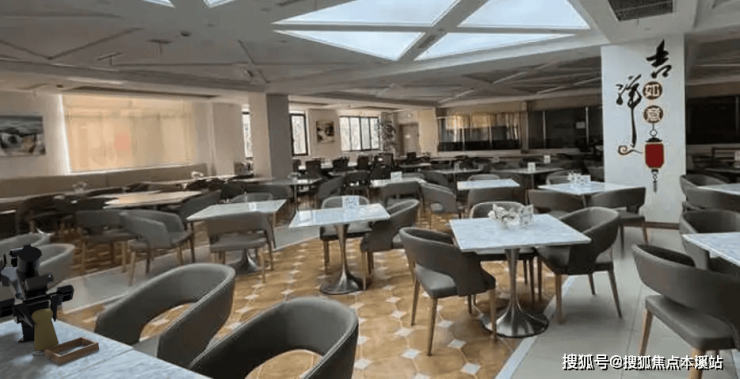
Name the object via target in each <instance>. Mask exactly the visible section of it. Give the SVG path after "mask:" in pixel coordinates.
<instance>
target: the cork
mask: <svg viewBox="0 0 740 379" xmlns="http://www.w3.org/2000/svg"><path fill="white" fill-rule="evenodd" d="M32 320H33V322H34V323H35V338H34V340H33V341H34V343H33V345H34V346H33V349H34V350H38V351H40V350H45V349H47V348H50V347H53V346H56V345H58V344H60V342H59V338H58V335H57V333H56V329H55V326H54V321H53V312H52V310H51V308H49V309H40V310H37V311H35V312H34V313H33V314H32Z"/></svg>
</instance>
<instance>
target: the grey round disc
mask: <svg viewBox="0 0 740 379" xmlns="http://www.w3.org/2000/svg"><path fill="white" fill-rule="evenodd" d="M59 344H60V343H59ZM59 344H58V345H59ZM32 355H33V356H37V357H38V356H39V357H40V356H45V353H44V350H40V351H38V350H35V349H34V350H33V351H32Z"/></svg>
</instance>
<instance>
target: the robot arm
mask: <svg viewBox="0 0 740 379" xmlns="http://www.w3.org/2000/svg"><path fill="white" fill-rule="evenodd" d="M42 257H43V253H42V250H41V249H40V248H38V247H36V246H33V245H32V244H31V243H26V244H22V247H17V248H10V249H8V251H6V252H3V253H1V259H0V285H1V287H5V288H9V289H10V292H12V295H13V296H11V297H7V298H3V299H0V319H3V318H6V317H11V316H12V317H13V321H14V323H16V324H17V325H19V324H20V326H21V334H22V337H21V338H20V339H18V341H17V342H18V343H23V342H31V341H34V338H35V323H34V322H33V320H32V314H33V313H34V312H35V311H37V310H40V309H51V310H52V312H53V317H52V321H53V323H54V322H57V314H58V307H59V306H62V303H66V302H69V301H72V300H73V297H74V293H75V288H74V286H73V284H71V283H68V284H63V285H60V286H57V287H56V291H54V292H50V293H47V292H49V288H48V286H49V284H53V283H54V281H55V278H54V274H53V271H48V272H44V274H41V272H40V268H41V262H42ZM7 265H8V266H7Z"/></svg>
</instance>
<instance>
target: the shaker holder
mask: <svg viewBox="0 0 740 379" xmlns="http://www.w3.org/2000/svg"><path fill="white" fill-rule="evenodd" d="M80 345H84V346H83V347H81V348H77V349H75V350H73V351H70V352H67V353H63V354H59V353H60V352H64V351H66V350H69V349H72V348H74V347H77V346H80ZM98 350H100V344H99V342H98V341H96V340H93V339H90V338H89V337H86V336H79V337H76V338H73V339H71V340H67V341H65V342H62V343H59V345H56V346H53V347H50V348H47V349H45V350H44V353H45V355H44V356H45V357H46V358H47V359H50V360H52V361H54V362H56V363H57V364H60V365H61V364H64V363H66V362H70V361H72V360H74V359H77V358H80V357H82V356H85V355H87V354H90V353H93V352H96V351H98Z"/></svg>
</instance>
